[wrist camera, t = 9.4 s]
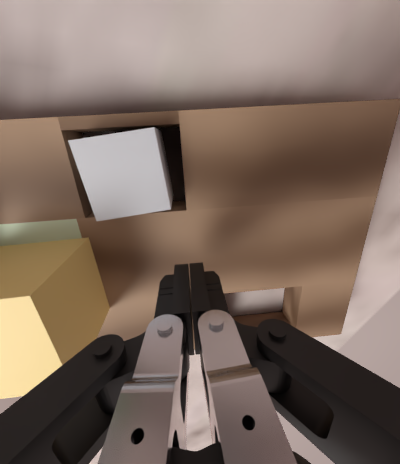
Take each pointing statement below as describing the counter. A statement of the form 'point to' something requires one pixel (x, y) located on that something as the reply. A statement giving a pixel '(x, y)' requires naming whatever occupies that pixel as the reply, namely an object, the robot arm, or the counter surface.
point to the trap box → (216, 204)
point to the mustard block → (46, 309)
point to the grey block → (124, 173)
